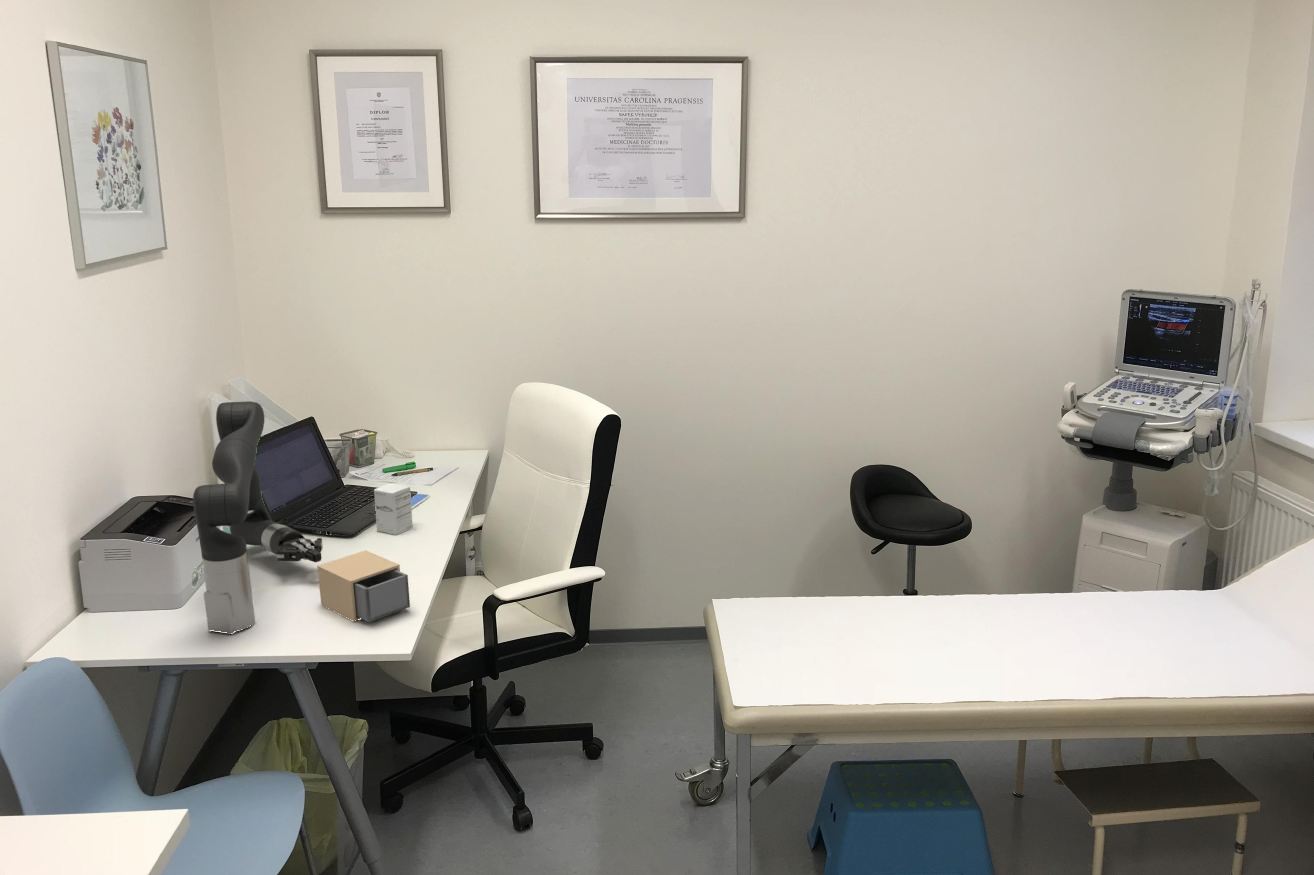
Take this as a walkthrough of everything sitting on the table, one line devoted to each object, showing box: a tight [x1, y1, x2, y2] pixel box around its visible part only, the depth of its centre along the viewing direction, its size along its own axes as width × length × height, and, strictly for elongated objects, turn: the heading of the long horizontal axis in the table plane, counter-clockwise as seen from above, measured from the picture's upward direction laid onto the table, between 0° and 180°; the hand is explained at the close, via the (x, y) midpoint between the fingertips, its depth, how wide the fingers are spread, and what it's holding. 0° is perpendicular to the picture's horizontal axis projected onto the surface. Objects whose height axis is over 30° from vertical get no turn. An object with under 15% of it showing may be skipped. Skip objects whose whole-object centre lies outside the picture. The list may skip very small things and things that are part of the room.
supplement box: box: [373, 482, 413, 536], centre depth 287 cm, size 7×7×13 cm
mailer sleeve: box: [317, 550, 401, 622], centre depth 239 cm, size 14×13×10 cm
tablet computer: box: [411, 493, 431, 510], centre depth 310 cm, size 19×13×1 cm, turn 166°
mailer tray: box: [353, 569, 411, 623], centre depth 238 cm, size 20×11×8 cm, turn 48°
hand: (318, 557), depth 250 cm, fingers closed
